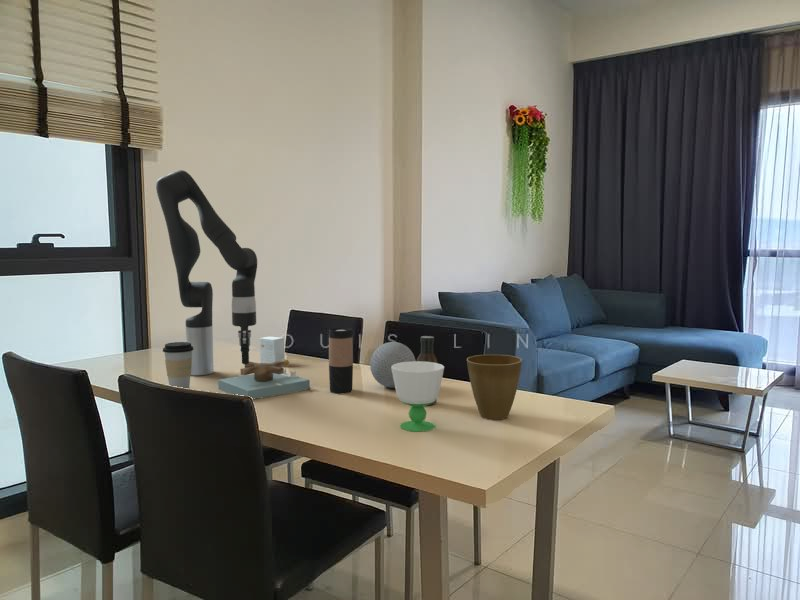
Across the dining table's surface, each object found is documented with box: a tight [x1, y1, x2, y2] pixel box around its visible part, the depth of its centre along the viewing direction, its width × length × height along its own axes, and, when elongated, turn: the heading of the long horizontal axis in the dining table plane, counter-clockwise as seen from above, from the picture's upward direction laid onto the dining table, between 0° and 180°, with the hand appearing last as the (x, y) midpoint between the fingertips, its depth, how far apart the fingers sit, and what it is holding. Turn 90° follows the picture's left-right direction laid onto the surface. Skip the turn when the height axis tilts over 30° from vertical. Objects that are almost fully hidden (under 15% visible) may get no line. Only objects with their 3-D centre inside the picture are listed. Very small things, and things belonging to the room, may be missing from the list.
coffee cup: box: [162, 341, 194, 389], centre depth 199 cm, size 9×9×15 cm
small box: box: [259, 336, 286, 363], centre depth 241 cm, size 8×6×10 cm
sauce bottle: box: [416, 335, 439, 406], centre depth 182 cm, size 6×6×20 cm
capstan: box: [239, 358, 290, 381], centre depth 201 cm, size 19×17×5 cm
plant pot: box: [466, 354, 523, 421], centre depth 169 cm, size 15×15×16 cm
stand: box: [217, 367, 311, 400], centre depth 200 cm, size 21×22×5 cm
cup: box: [391, 360, 445, 433], centre depth 159 cm, size 14×14×16 cm
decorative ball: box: [369, 341, 416, 389], centre depth 203 cm, size 15×15×15 cm
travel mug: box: [328, 327, 354, 395], centre depth 197 cm, size 8×8×20 cm
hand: (245, 363), depth 200 cm, fingers closed
